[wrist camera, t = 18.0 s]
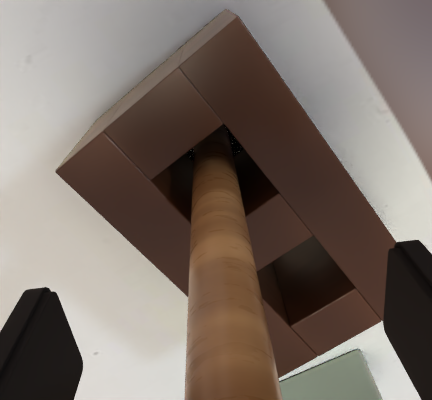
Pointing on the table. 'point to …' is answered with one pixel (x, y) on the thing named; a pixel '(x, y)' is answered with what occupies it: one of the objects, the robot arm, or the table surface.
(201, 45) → the holder
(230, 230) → the stirring stick
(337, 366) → the planter
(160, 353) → the table surface
